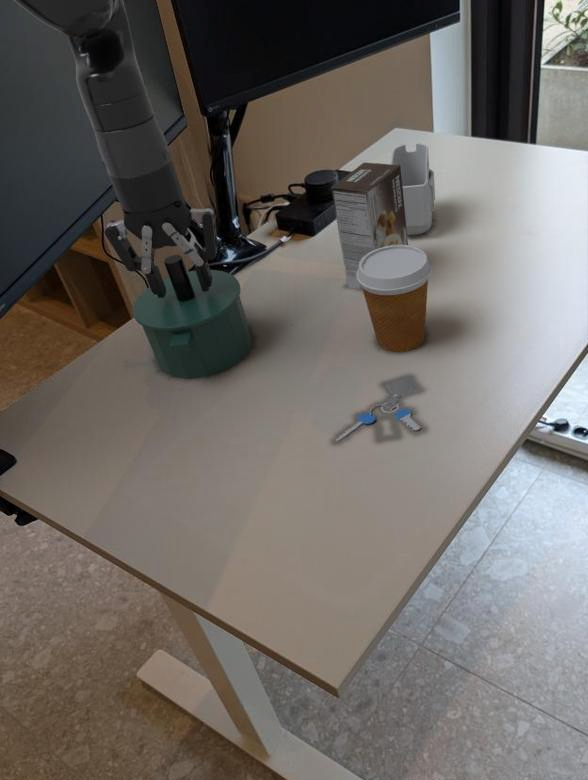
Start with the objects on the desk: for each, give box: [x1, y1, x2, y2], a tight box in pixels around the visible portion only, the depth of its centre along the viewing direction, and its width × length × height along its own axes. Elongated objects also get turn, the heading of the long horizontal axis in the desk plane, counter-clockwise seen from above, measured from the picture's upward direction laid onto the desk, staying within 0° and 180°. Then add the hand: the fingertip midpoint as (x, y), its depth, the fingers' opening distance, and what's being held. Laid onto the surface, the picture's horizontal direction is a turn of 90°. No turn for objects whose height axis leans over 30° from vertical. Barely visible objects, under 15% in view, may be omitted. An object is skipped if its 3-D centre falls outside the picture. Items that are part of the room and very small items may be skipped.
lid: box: [132, 254, 242, 331], centre depth 90 cm, size 15×15×7 cm
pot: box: [142, 295, 253, 380], centre depth 95 cm, size 14×19×8 cm
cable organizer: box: [390, 142, 436, 236], centre depth 113 cm, size 7×12×12 cm, turn 175°
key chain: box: [335, 377, 421, 442], centre depth 82 cm, size 14×8×1 cm, turn 147°
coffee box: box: [330, 162, 409, 291], centre depth 100 cm, size 9×6×16 cm
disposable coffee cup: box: [356, 244, 432, 353], centre depth 89 cm, size 10×10×12 cm
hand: (184, 291), depth 91 cm, fingers open, 5 cm apart
